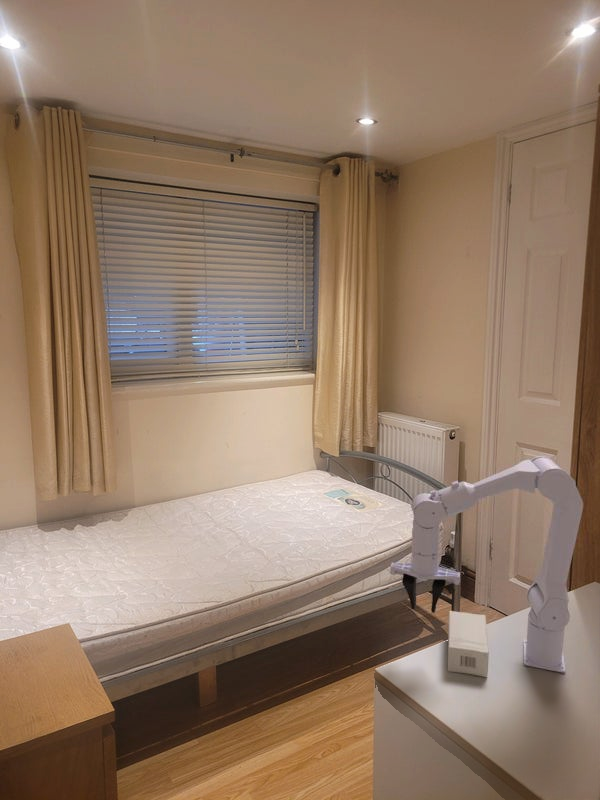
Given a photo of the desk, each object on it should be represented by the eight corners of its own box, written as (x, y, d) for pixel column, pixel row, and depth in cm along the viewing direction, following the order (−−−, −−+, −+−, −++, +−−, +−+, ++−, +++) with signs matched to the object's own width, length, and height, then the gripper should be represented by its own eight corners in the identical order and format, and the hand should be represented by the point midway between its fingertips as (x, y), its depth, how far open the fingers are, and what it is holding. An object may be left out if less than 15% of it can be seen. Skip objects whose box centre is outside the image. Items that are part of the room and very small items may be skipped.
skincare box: (487, 678, 119) (486, 638, 133) (489, 651, 118) (487, 614, 132) (445, 671, 121) (448, 632, 135) (446, 645, 120) (449, 608, 134)
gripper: (387, 553, 122) (386, 612, 125) (458, 563, 117) (456, 624, 120) (394, 539, 129) (393, 596, 131) (461, 548, 124) (459, 607, 126)
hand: (423, 608), depth 126 cm, fingers open, 4 cm apart
